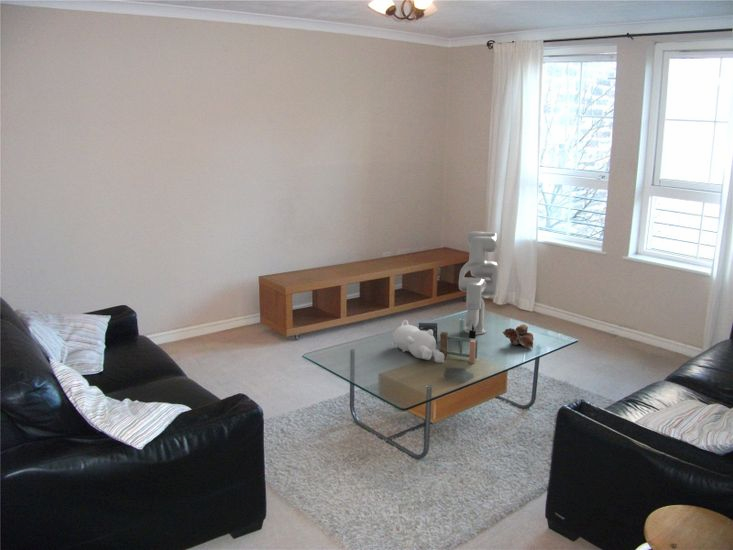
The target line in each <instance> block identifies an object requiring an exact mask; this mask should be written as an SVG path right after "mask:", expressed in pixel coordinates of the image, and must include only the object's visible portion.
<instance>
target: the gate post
mask: <svg viewBox="0 0 733 550" xmlns="http://www.w3.org/2000/svg"><path fill="white" fill-rule="evenodd" d="M439 335H440V336H439V338H440V339H439V340H440V341H439V351H440V352H442V353H443V354H444V360H446V359H447V358H448V354H447V351H448V344H447V341H448V340H449V339H448V336H449V333H448V332H447V331H441V333H440V334H439Z"/></svg>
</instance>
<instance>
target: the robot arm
mask: <svg viewBox="0 0 733 550" xmlns="http://www.w3.org/2000/svg"><path fill="white" fill-rule="evenodd" d="M466 242H467V245H468V247H469V256H468V261H467V262H466V263H465V264H463V266H462V267H461V268H460V271H459V276H458V277H459V278H458V289H459V290H460V291H461V292H466V304H465V305H466V306H465V307H466V308H465V309H467V310H466V311H467V312H466V319H465V321H466V322H465V327H464V333H466V334H468V338H469V339H476V336H477V335H484V334H486V332H487V329H486V328H485V327H484V324H485V323H484V322H485V301H484V299H483V297H493V298H494V297H496V296H497V295H498V290H499V275H500V274H499V273H500V272H499V264H498V263H497V262H496V261H491V260H487V259H486V258H487V253H495V252H496V251H497V249H498V246H499V244H498V243H499V236H498V233H497V232H494V231H469V232H468V233H467V234H466ZM468 272H470V275H471V276H472V277H469V276H468V277H466V274H468ZM484 278H485V279H484ZM487 278H489V279H487Z"/></svg>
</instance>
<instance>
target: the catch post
mask: <svg viewBox="0 0 733 550" xmlns="http://www.w3.org/2000/svg"><path fill="white" fill-rule="evenodd" d="M475 348H476V340H471V341H470V342H469V353H468V354H469V357H468V364H472V363H474V362H476V358H475ZM474 364H475V363H474Z"/></svg>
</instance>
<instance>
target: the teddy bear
mask: <svg viewBox="0 0 733 550" xmlns="http://www.w3.org/2000/svg"><path fill="white" fill-rule="evenodd" d="M392 343H393V344H395V345H396V347H397V348H399V349H400V350H402V352H403V353H404V352H410V353H411V355H413V356H414V358H417V359H420V360H421V359H423V360H428V361H429V360H431V358H432V357H433V358H434V362H435V363H438V364H442V363H443V362H444V361H445V359H444V354H443V353H442V352H440V349H437V344H436V340H435V338H434V336H433V331H432V329H429V330H428V331H420V330H419V327H417V326H415V325H411V324H409V321H408V320H407V319H403V320H402V321H401V323H400V326H399V327H397V328H396V329H395V330H394V332H393V334H392Z"/></svg>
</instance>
